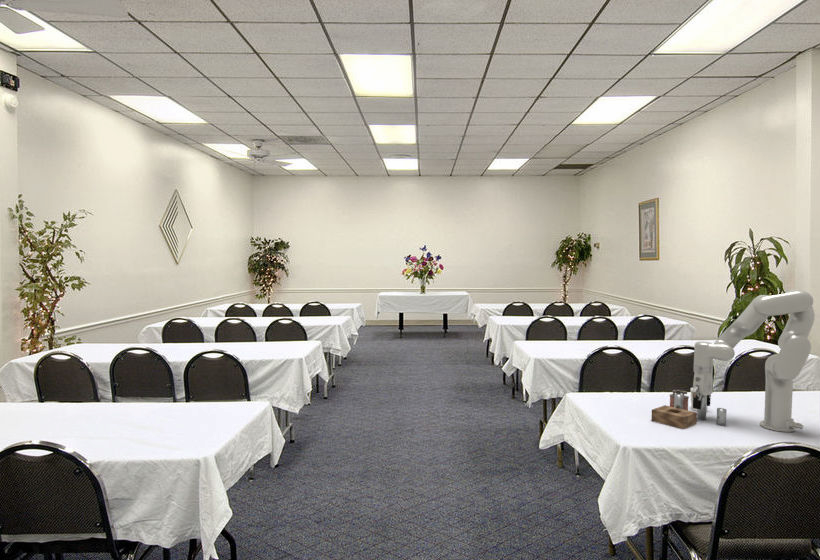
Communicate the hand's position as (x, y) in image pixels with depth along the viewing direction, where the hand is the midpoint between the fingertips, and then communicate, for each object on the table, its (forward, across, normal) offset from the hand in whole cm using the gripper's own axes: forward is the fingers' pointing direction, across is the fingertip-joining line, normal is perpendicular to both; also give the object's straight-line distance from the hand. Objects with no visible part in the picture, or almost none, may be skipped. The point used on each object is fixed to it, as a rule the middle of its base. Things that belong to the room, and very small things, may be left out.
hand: (701, 406), depth 234 cm
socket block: (+6, -15, +5) cm, 17 cm away
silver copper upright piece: (+6, +4, +12) cm, 14 cm away
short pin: (+5, -2, -9) cm, 11 cm away
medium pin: (+6, -5, +8) cm, 11 cm away
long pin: (+5, 0, 0) cm, 5 cm away
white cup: (+6, +14, +7) cm, 17 cm away
